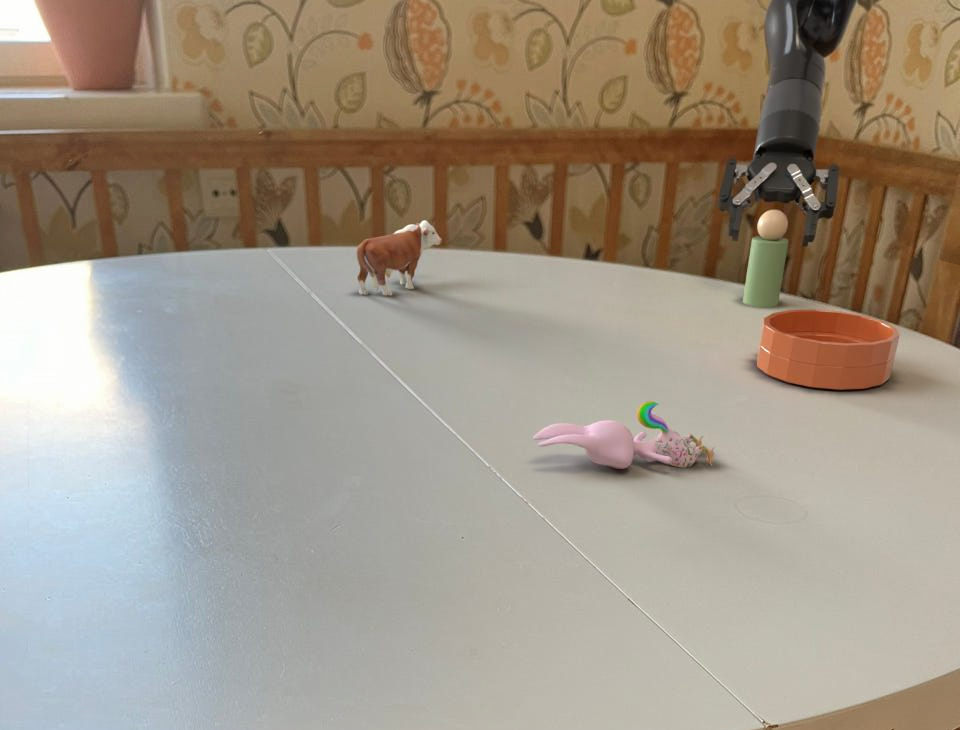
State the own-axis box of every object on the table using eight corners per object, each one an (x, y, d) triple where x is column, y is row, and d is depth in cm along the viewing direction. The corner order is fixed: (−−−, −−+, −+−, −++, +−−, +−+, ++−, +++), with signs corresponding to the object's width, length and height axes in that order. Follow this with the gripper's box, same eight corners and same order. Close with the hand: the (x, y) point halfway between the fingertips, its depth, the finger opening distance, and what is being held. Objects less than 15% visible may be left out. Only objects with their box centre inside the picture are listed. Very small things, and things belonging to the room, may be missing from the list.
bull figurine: (446, 286, 138) (446, 220, 134) (370, 303, 130) (368, 234, 125) (423, 280, 141) (423, 215, 136) (347, 296, 132) (344, 228, 128)
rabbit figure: (684, 463, 91) (521, 447, 86) (704, 396, 88) (535, 376, 83) (714, 491, 85) (541, 476, 81) (735, 422, 83) (558, 402, 78)
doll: (769, 300, 135) (784, 206, 129) (783, 309, 131) (799, 212, 125) (736, 301, 134) (750, 206, 128) (750, 310, 131) (765, 213, 125)
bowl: (850, 354, 115) (859, 308, 113) (912, 392, 104) (924, 342, 102) (736, 357, 113) (744, 310, 111) (787, 397, 102) (797, 346, 100)
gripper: (733, 104, 131) (713, 217, 128) (851, 110, 128) (834, 225, 125) (730, 146, 138) (711, 253, 135) (841, 152, 135) (825, 262, 132)
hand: (770, 240), depth 130 cm, fingers open, 8 cm apart
